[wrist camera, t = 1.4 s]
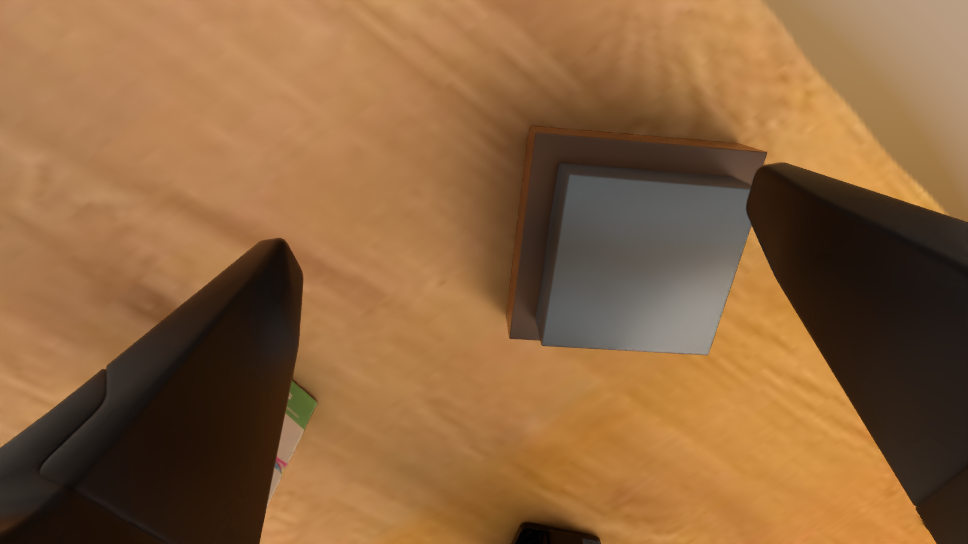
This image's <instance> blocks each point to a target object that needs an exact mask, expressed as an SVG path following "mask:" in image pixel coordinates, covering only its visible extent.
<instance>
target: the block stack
mask: <svg viewBox="0 0 968 544" xmlns="http://www.w3.org/2000/svg"><path fill="white" fill-rule="evenodd" d="M766 155H767V152H765V151H762V150H758V149H755V148H752V147H749V146H745V145H742V144H738V143H726V142H715V141H703V140H691V139H680V138H668V137H657V136H645V135H633V134H622V133H610V132H599V131H587V130H576V129H564V128H552V127H541V126H529V130H528V138H527V147H526V155H525V163H524V172H523V180H522V188H521V196H520V205H519V213H518V221H517V230H516V238H515V246H514V255H513V263H512V271H511V279H510V288H509V296H508V304H507V313H506V319H507V326H508V332H509V338H510V339H524V340H540V341H541V345H542V346H555V347H572V348H590V349H608V350H625V351H643V352H661V353H678V354H696V355H708V354H709V351H710V348H711V345H712V342H713V339H714V336H715V333H716V330H717V327H718V324H719V321H720V318H721V315H722V312H723V309H724V306H725V303H726V300H727V297H728V294H729V291H730V288H731V285H732V282H733V279H734V276H735V273H736V270H737V267H738V264H739V261H740V258H741V255H742V252H743V249H744V246H745V243H746V240H747V237H748V234H749V231H750V228H751V223H750V220H749V218H748V216H747V212H746V202H747V198H748V195H749V192H750V188H751V185H752V182H753V179H754V175H755V173H756V171H757V169H758V168H759V167H761V166H762V165H763V164H764V161H765V158H766Z"/></svg>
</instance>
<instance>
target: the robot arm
mask: <svg viewBox="0 0 968 544" xmlns="http://www.w3.org/2000/svg"><path fill="white" fill-rule="evenodd" d="M746 212H747V216H748V218H749V220H750V223H751V225H752V227H753V229H754V231H755V234H756V236H757V238H758V240H759V243H760V245H761V247H762V249H763V251H764V254H765V256H766V258H767V260H768V263H769V265H770V267H771V269H772V271H773V273H774V275H775V277H776V279H777V281H778V283H779V284H780V286H781V288H782V290H783V291H784V293H785V295H786V296H787V298H788V299H789V301H790V303H791V304H792V306H793V308H794V309H795V311H796V313H797V314H798V316H799V318H800V319H801V321H802V322H803V324H804V326H805V327H806V329H807V331H808V332H809V334H810V336H811V337H812V339H813V341H814V342H815V344H816V345H817V347H818V349H819V350H820V352H821V354H822V355H823V357H824V359H825V360H826V362H827V364H828V365H829V367H830V368H831V370H832V372H833V373H834V375H835V377H836V378H837V380H838V382H839V383H840V385H841V387H842V388H843V390H844V391H845V393H846V395H847V396H848V398H849V400H850V401H851V403H852V405H853V406H854V408H855V409H856V411H857V413H858V414H859V416H860V418H861V419H862V421H863V423H864V424H865V426H866V428H867V429H868V431H869V432H870V434H871V436H872V437H873V439H874V441H875V442H876V444H877V446H878V447H879V449H880V451H881V452H882V454H883V455H884V457H885V459H886V460H887V462H888V464H889V465H890V467H891V469H892V470H893V472H894V474H895V475H896V477H897V478H898V480H899V482H900V483H901V485H902V487H903V488H904V490H905V492H906V493H907V495H908V497H909V498H910V500H911V501H912V503H913V504H914V505H915V506H917V507H916V510H917V512H918V514H919V515H920V517H921V519H922V520H923V522H924V523H925V525H926V527H927V528H928V530H929V532H930V533H931V535H932V537H933V538H934V540H935V541H936V543H937V544H968V222H965V221H962V220H959V219H956V218H953V217H950V216H947V215H944V214H941V213H938V212H935V211H932V210H929V209H926V208H923V207H920V206H917V205H913V204H910V203H907V202H904V201H901V200H898V199H895V198H892V197H889V196H886V195H883V194H880V193H877V192H874V191H871V190H867V189H864V188H861V187H858V186H855V185H852V184H849V183H846V182H843V181H840V180H837V179H834V178H831V177H828V176H825V175H821V174H818V173H815V172H812V171H809V170H806V169H803V168H800V167H797V166H794V165H791V164H788V163H774V164H768V165H762V166H761V167H759V168H758V169H757V171H756V173H755V175H754V179H753V182H752V185H751V188H750V192H749V195H748V198H747V202H746ZM302 294H303V273H302V270H301V267H300V266H299V264H298V262H297V260H296V258H295V256H294V254H293V252H292V251H291V249H290V247H289V245H288V243H287V242H286V241H285V240H284V239H282V238H275V239H268V240H262V241H260V242H259V243H257V244H256V245H255V246H254V247H252V248H251V249H250V250H249V251H247V252H246V253H245V254H244V255H243V256H241V257H240V258H239V259H238V260H236V261H235V262H234V263H233V264H231V265H230V266H229V267H228V268H227V269H225V270H224V271H223V272H222V273H220V274H219V275H218V276H217V277H215V278H214V279H213V280H212V281H210V282H209V283H208V284H207V285H206V286H204V287H203V288H202V289H201V290H199V291H198V292H197V293H196V294H194V295H193V296H192V297H191V298H190V299H188V300H187V301H186V302H185V303H183V304H182V305H181V306H180V307H178V308H177V309H176V310H175V311H174V312H172V313H171V314H170V315H169V316H167V317H166V318H165V319H164V320H162V321H161V322H160V323H159V324H157V325H156V326H155V327H154V328H153V329H151V330H150V331H149V332H148V333H146V334H145V335H144V336H143V337H141V338H140V339H139V340H138V341H137V342H135V343H134V344H133V345H132V346H130V347H129V348H128V349H127V350H125V351H124V352H123V353H122V354H121V355H119V356H118V357H117V358H116V359H114V360H113V361H112V362H111V363H109V364H108V365H107V367H106V369H102V370H101V371H99V372H98V373H97V374H96V375H94V376H93V377H92V378H91V379H90V380H88V381H87V382H86V383H85V384H83V385H82V386H81V387H80V388H78V389H77V390H76V391H75V392H73V393H72V394H71V395H70V396H68V397H67V398H66V399H64V400H63V401H62V402H61V403H59V404H58V405H57V406H56V407H54V408H53V409H52V410H50V411H49V412H48V413H46V414H45V415H44V416H42V417H41V418H40V419H38V420H37V421H36V422H34V423H33V424H32V425H30V426H29V427H28V428H26V429H25V430H24V431H22V432H21V433H20V434H18V435H17V436H16V437H14V438H13V439H12V440H10V441H9V442H7V443H6V444H5V445H3V446H2V447H1V448H0V544H259V543H260V538H261V533H262V528H263V523H264V518H265V513H266V508H267V503H268V498H269V493H270V488H271V483H272V478H273V473H274V468H275V463H276V458H277V453H278V448H279V443H280V438H281V433H282V428H283V423H284V418H285V413H286V408H287V403H288V398H289V393H290V388H291V383H292V378H293V372H294V367H295V362H296V357H297V352H298V345H299V336H300V322H301V308H302ZM512 544H601V542H600V539H599V538H598V537H596V536H591V535H586V534H581V533H576V532H571V531H566V530H561V529H556V528H551V527H546V526H541V525H536V524H531V523H524V524H522V525H521V526H520V528H519V530H518V532H517V534H516V536H515V538H514V540H513V542H512Z"/></svg>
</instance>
